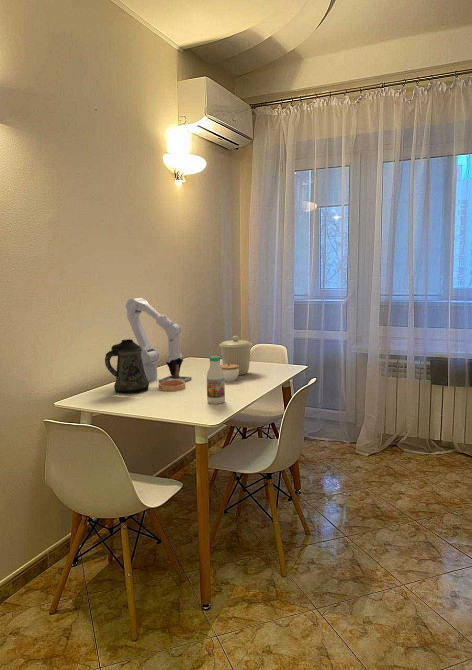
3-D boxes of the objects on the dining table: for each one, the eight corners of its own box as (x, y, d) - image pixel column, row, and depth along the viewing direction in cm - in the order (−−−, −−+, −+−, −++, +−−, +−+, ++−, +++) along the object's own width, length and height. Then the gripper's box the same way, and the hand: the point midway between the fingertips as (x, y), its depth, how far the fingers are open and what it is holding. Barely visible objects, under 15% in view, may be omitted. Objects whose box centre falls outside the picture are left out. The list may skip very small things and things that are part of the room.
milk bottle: (207, 400, 229) (205, 355, 226) (224, 399, 230) (223, 354, 227) (207, 404, 221) (206, 358, 219) (225, 403, 222) (224, 357, 219)
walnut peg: (170, 378, 266) (169, 365, 265) (174, 377, 269) (173, 363, 269) (176, 379, 264) (176, 365, 263) (180, 377, 268) (180, 364, 267)
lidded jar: (237, 382, 262) (236, 364, 261) (216, 382, 264) (216, 364, 263) (241, 378, 273) (240, 360, 271) (221, 378, 275) (220, 360, 274)
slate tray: (159, 383, 265) (158, 379, 264) (169, 379, 275) (169, 375, 274) (181, 385, 260) (181, 381, 259) (191, 380, 270) (191, 377, 269)
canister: (247, 377, 274) (246, 338, 271) (215, 376, 280) (214, 337, 277) (256, 371, 291) (256, 334, 288) (226, 369, 297) (225, 333, 294)
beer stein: (156, 389, 253) (153, 338, 249) (128, 398, 236) (126, 343, 233) (130, 386, 261) (128, 336, 258) (102, 394, 244) (99, 342, 241)
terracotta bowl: (153, 391, 249) (153, 385, 248) (167, 385, 260) (167, 379, 260) (177, 392, 244) (177, 387, 243) (189, 387, 255) (189, 381, 255)
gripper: (173, 350, 257) (175, 377, 258) (187, 345, 270) (188, 371, 272) (161, 349, 259) (162, 376, 261) (175, 345, 273) (176, 370, 274)
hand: (175, 373), depth 267 cm, fingers closed on walnut peg, 4 cm apart
